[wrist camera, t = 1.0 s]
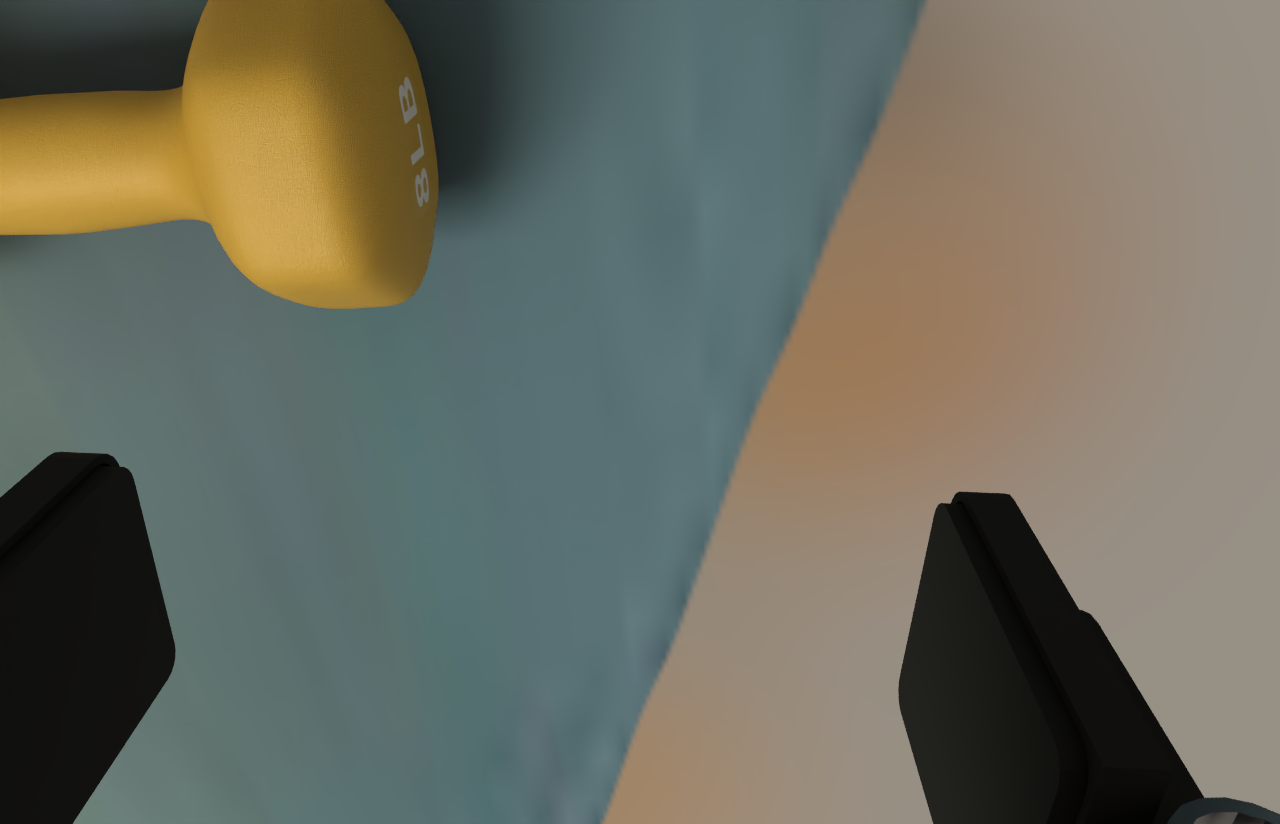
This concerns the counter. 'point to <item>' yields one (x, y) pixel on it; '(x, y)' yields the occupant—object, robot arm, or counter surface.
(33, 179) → the dumbbell
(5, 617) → the robot arm
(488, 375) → the counter surface
